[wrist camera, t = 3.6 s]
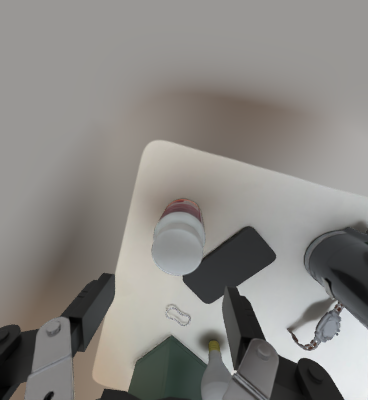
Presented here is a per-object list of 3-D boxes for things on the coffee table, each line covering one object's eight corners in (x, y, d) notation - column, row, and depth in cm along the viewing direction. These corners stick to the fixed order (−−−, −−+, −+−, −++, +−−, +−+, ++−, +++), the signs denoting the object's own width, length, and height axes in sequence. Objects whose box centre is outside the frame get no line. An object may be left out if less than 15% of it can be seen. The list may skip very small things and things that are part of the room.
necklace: (185, 326, 32) (185, 329, 32) (162, 313, 31) (162, 315, 31) (193, 318, 32) (193, 320, 31) (171, 304, 31) (171, 306, 30)
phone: (179, 278, 29) (251, 225, 26) (180, 275, 30) (249, 223, 27) (207, 306, 30) (279, 258, 27) (207, 302, 31) (277, 255, 28)
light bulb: (215, 325, 32) (224, 397, 22) (233, 343, 33) (250, 420, 23) (193, 339, 33) (193, 413, 23) (211, 356, 34) (218, 435, 24)
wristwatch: (280, 328, 31) (303, 352, 26) (325, 266, 33) (355, 278, 28) (293, 339, 32) (318, 365, 27) (337, 278, 33) (369, 291, 28)
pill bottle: (158, 206, 27) (134, 236, 16) (193, 192, 27) (193, 214, 16) (173, 239, 29) (160, 287, 18) (207, 226, 28) (217, 269, 17)
